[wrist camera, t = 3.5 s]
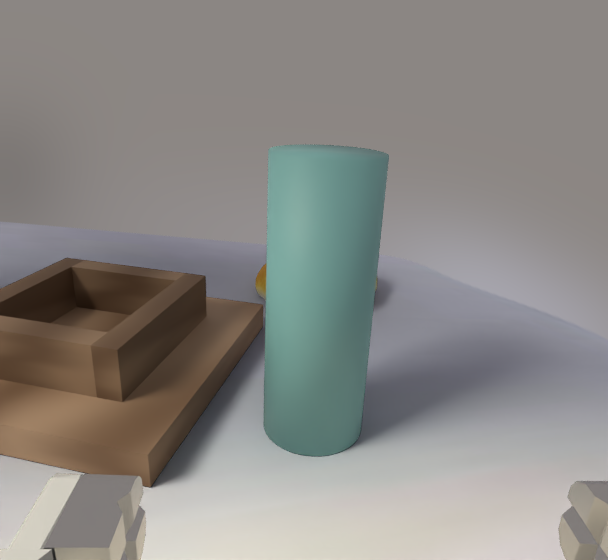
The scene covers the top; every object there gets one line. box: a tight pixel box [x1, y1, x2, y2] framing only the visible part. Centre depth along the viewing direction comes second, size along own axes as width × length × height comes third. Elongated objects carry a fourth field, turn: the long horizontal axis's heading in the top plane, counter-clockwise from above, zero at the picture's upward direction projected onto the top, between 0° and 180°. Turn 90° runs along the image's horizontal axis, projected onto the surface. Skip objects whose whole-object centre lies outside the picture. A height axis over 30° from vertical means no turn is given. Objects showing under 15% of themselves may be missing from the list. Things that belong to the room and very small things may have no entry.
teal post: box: [264, 145, 389, 456], centre depth 21 cm, size 4×4×12 cm
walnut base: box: [0, 258, 263, 487], centre depth 26 cm, size 14×14×4 cm
